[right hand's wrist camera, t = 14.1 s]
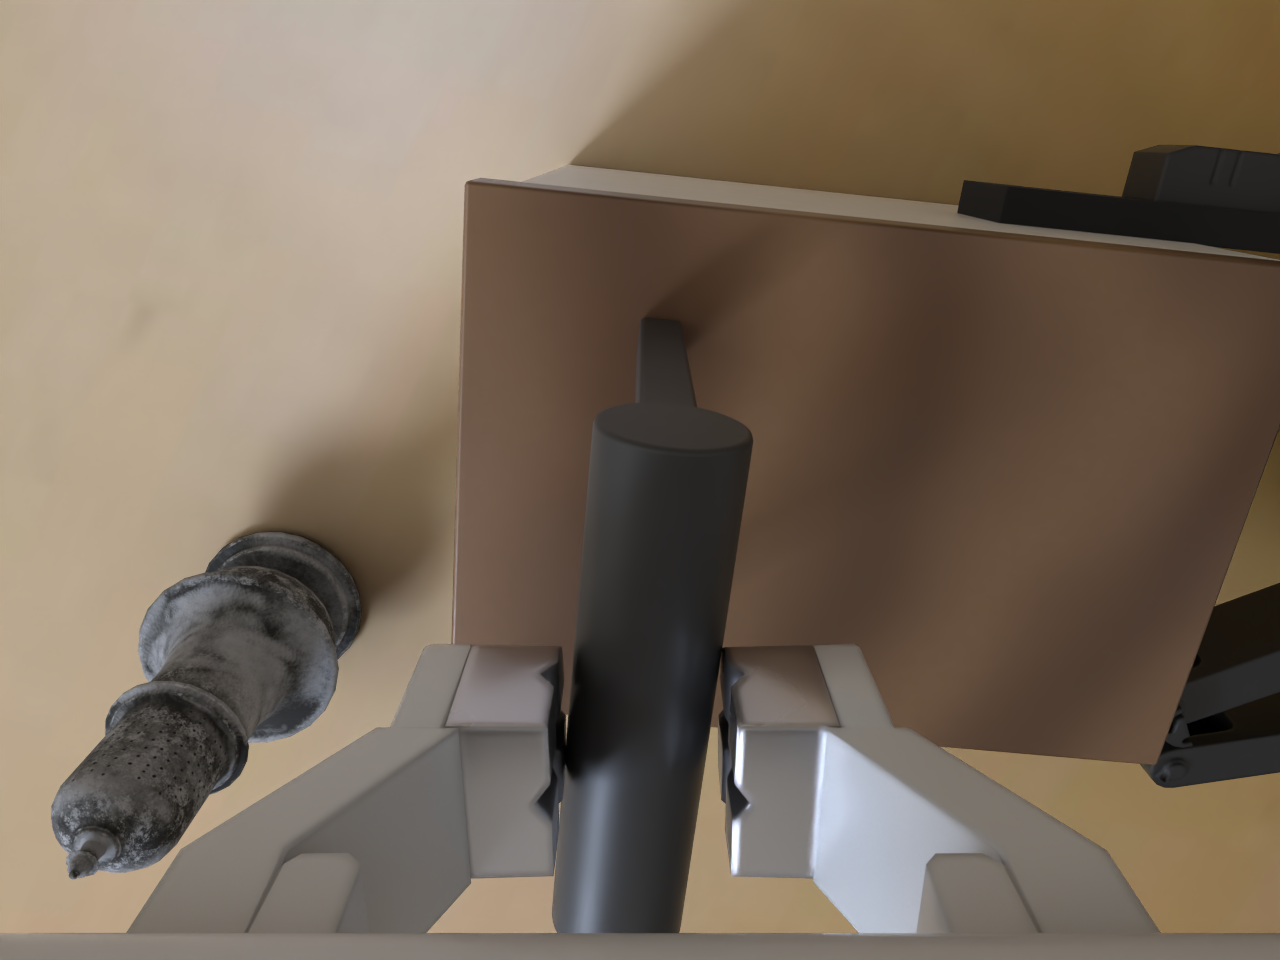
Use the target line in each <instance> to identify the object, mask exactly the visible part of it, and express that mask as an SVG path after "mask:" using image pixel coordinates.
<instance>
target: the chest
mask: <svg viewBox="0 0 1280 960" xmlns="http://www.w3.org/2000/svg"><path fill="white" fill-rule="evenodd" d="M523 182H524V183H534V184H544V185H553V186H563V187H573V188H582V189H592V190H602V191H611V192H621V193H631V194H640V195H650V196H660V197H669V198H679V199H689V200H698V201H708V202H718V203H727V204H737V205H746V206H756V207H766V208H775V209H785V210H795V211H804V212H814V213H824V214H833V215H843V216H853V217H862V218H872V219H882V220H891V221H901V222H911V223H920V224H930V225H940V226H949V227H959V228H968V229H978V230H988V231H997V232H1007V233H1017V234H1026V235H1036V236H1046V237H1055V238H1065V239H1075V240H1084V241H1094V242H1104V243H1113V244H1123V245H1133V246H1142V247H1152V248H1162V249H1171V250H1181V251H1190V252H1200V253H1210V254H1219V255H1229V256H1239V257H1248V258H1258V259H1268V260H1277V261H1280V260H1278V259H1273V258H1268V257H1263V256H1258V255H1252V254H1247V253H1242V252H1237V251H1231V250H1226V249H1221V248H1216V247H1211V246H1205V245H1200V244H1195V243H1186V242H1176V241H1167V240H1157V239H1147V238H1138V237H1128V236H1118V235H1109V234H1099V233H1089V232H1080V231H1070V230H1060V229H1051V228H1041V227H1032V226H1022V225H1012V224H1003V223H997V222H993V221H989V220H984V219H980V218H976V217H972V216H968V215H963V214H959V213H957V211H958V206H959V205H950V204H941V203H931V202H922V201H912V200H902V199H893V198H883V197H874V196H864V195H854V194H845V193H835V192H826V191H816V190H806V189H797V188H787V187H778V186H768V185H759V184H749V183H739V182H730V181H720V180H711V179H701V178H691V177H682V176H672V175H663V174H653V173H643V172H634V171H624V170H615V169H605V168H596V167H586V166H576V165H567V166H564V167H562V168H559V169H556V170H553V171H551V172H548V173H545V174H542V175H540V176H537V177H534V178H531V179H529V180H526V181H523Z"/></svg>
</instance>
